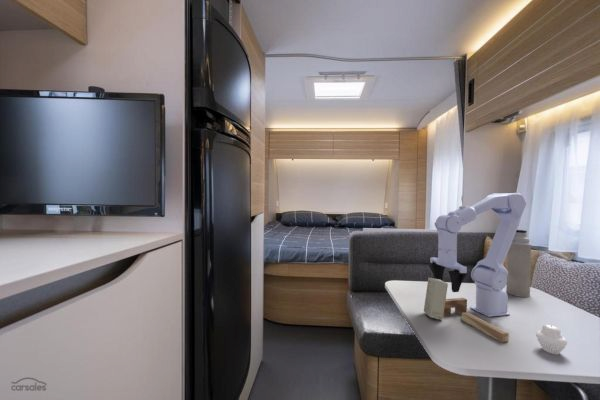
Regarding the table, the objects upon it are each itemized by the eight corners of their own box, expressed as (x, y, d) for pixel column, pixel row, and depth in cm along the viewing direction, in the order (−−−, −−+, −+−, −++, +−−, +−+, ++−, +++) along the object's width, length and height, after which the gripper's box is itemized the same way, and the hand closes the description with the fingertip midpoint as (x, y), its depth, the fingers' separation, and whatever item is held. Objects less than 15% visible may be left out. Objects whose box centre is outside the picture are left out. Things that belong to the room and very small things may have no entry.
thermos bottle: (519, 290, 120) (521, 229, 120) (535, 297, 112) (536, 231, 112) (501, 290, 120) (503, 228, 120) (516, 296, 112) (517, 230, 112)
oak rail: (467, 319, 89) (467, 312, 89) (508, 341, 76) (508, 333, 76) (461, 320, 89) (462, 312, 89) (502, 342, 75) (502, 333, 75)
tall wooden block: (462, 311, 96) (462, 297, 96) (466, 313, 94) (467, 299, 94) (438, 313, 94) (439, 299, 94) (442, 315, 92) (443, 301, 92)
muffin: (529, 344, 75) (530, 319, 75) (551, 345, 74) (552, 320, 74) (549, 357, 68) (550, 330, 68) (573, 358, 68) (574, 331, 68)
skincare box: (443, 320, 88) (449, 284, 88) (429, 317, 88) (435, 281, 88) (435, 313, 94) (440, 279, 94) (422, 310, 94) (428, 276, 95)
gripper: (423, 246, 99) (422, 282, 99) (454, 254, 85) (453, 296, 85) (439, 245, 101) (439, 281, 101) (472, 253, 86) (471, 294, 87)
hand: (446, 287), depth 93 cm, fingers open, 7 cm apart
